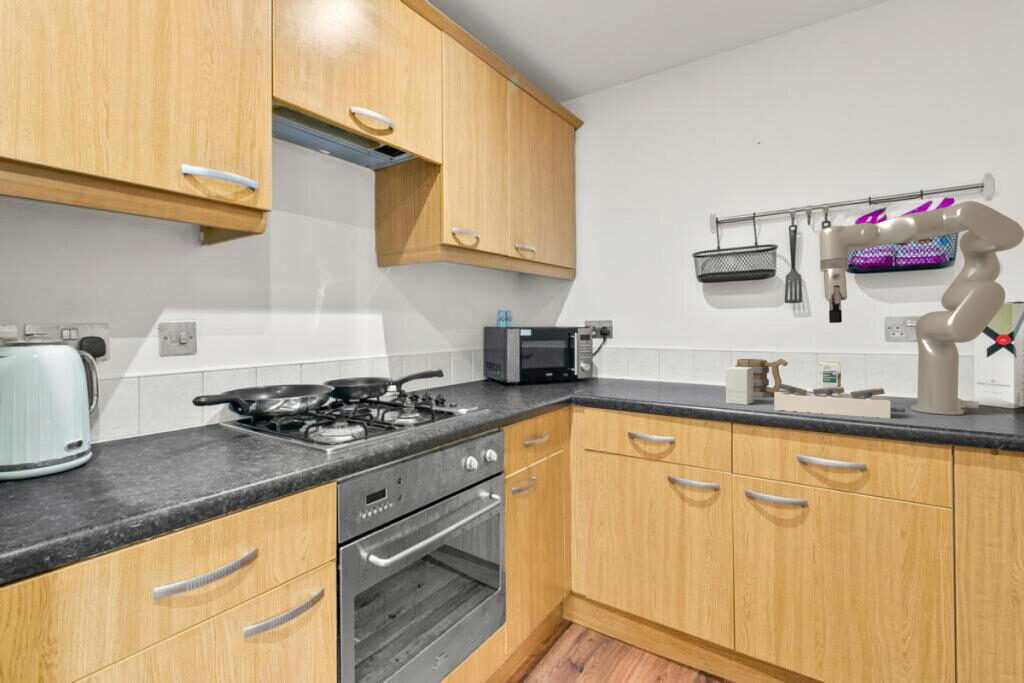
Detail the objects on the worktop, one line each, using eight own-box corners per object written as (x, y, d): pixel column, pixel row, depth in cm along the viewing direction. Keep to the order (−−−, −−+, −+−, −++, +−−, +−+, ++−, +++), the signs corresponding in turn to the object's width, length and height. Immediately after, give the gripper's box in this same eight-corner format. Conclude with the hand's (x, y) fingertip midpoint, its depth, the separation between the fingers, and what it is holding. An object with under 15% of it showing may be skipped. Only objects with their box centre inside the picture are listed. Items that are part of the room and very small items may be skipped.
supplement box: (753, 402, 171) (754, 367, 170) (747, 405, 165) (747, 368, 165) (732, 400, 176) (732, 366, 175) (724, 403, 170) (725, 367, 170)
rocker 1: (804, 395, 156) (806, 389, 156) (805, 397, 153) (807, 390, 153) (777, 388, 160) (779, 382, 160) (777, 390, 157) (779, 383, 157)
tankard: (726, 394, 192) (727, 356, 191) (746, 391, 198) (747, 355, 197) (775, 401, 174) (776, 360, 174) (795, 398, 181) (796, 358, 180)
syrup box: (821, 403, 167) (821, 362, 167) (819, 401, 172) (819, 361, 172) (840, 405, 164) (841, 363, 164) (838, 402, 170) (839, 361, 169)
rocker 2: (843, 393, 151) (842, 386, 151) (844, 394, 148) (843, 388, 148) (813, 395, 155) (812, 388, 155) (814, 396, 152) (813, 390, 152)
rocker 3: (883, 394, 146) (881, 387, 147) (885, 395, 143) (883, 388, 143) (851, 398, 150) (850, 391, 150) (853, 400, 147) (851, 393, 147)
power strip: (901, 415, 146) (901, 397, 146) (907, 419, 139) (907, 401, 139) (774, 406, 163) (774, 390, 162) (774, 410, 156) (774, 393, 156)
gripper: (852, 262, 145) (853, 322, 146) (844, 266, 159) (846, 321, 159) (822, 264, 149) (824, 323, 150) (817, 268, 162) (819, 322, 163)
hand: (835, 322), depth 154 cm, fingers closed
